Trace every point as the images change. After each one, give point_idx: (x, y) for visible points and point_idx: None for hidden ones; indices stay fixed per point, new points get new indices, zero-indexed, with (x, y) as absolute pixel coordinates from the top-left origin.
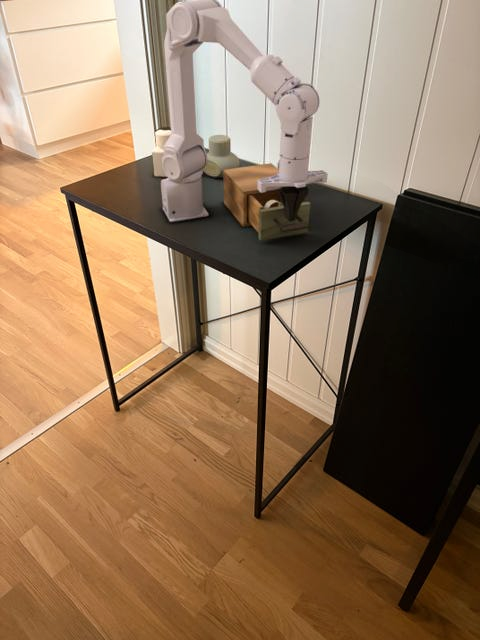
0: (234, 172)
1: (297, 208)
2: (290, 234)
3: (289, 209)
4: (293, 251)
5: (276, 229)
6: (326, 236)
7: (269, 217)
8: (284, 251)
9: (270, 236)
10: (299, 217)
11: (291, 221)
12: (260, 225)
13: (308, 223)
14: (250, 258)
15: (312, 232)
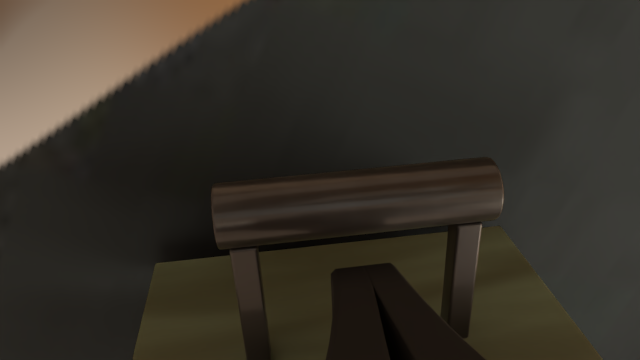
0: None
1: (356, 355)
2: (289, 251)
3: (467, 346)
4: (329, 83)
5: (411, 276)
6: (22, 213)
7: (515, 348)
8: (388, 99)
9: (439, 243)
10: (251, 324)
11: (297, 321)
12: (552, 303)
13: (211, 206)
14: (629, 75)
15: (111, 275)
